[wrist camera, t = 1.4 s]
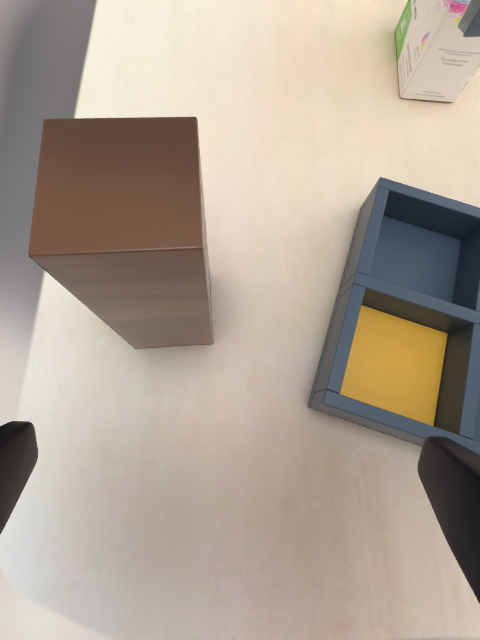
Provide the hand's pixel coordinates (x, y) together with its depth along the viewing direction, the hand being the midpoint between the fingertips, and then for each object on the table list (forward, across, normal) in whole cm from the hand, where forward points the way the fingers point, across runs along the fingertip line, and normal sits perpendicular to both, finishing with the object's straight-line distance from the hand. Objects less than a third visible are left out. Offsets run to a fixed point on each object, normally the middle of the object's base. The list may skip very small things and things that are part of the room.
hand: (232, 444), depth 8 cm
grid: (+15, -14, +2) cm, 21 cm away
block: (+15, +4, +2) cm, 16 cm away
